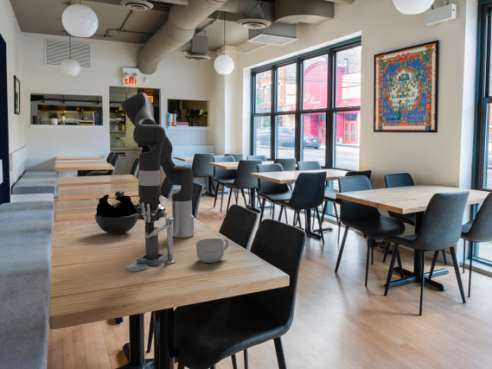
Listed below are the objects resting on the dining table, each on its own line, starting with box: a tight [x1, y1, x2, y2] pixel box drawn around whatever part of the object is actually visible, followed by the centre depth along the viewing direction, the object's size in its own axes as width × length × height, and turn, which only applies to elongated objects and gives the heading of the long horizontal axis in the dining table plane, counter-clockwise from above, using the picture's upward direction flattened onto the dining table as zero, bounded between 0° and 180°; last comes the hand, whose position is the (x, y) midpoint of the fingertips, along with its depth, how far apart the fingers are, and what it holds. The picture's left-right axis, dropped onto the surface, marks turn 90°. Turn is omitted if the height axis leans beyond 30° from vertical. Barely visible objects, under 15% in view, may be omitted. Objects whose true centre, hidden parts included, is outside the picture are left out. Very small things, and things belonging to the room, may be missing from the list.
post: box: [164, 221, 176, 265], centre depth 163 cm, size 4×4×16 cm
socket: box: [136, 252, 168, 267], centre depth 164 cm, size 9×9×2 cm
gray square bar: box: [144, 217, 174, 239], centre depth 154 cm, size 20×3×3 cm, turn 166°
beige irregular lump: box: [111, 190, 125, 208], centre depth 234 cm, size 16×11×18 cm
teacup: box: [195, 237, 230, 264], centre depth 166 cm, size 14×11×8 cm
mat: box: [125, 262, 149, 272], centre depth 157 cm, size 8×8×1 cm
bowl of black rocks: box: [94, 194, 139, 236], centre depth 207 cm, size 20×20×19 cm
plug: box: [144, 226, 160, 259], centre depth 164 cm, size 5×5×13 cm
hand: (149, 232), depth 150 cm, fingers closed
